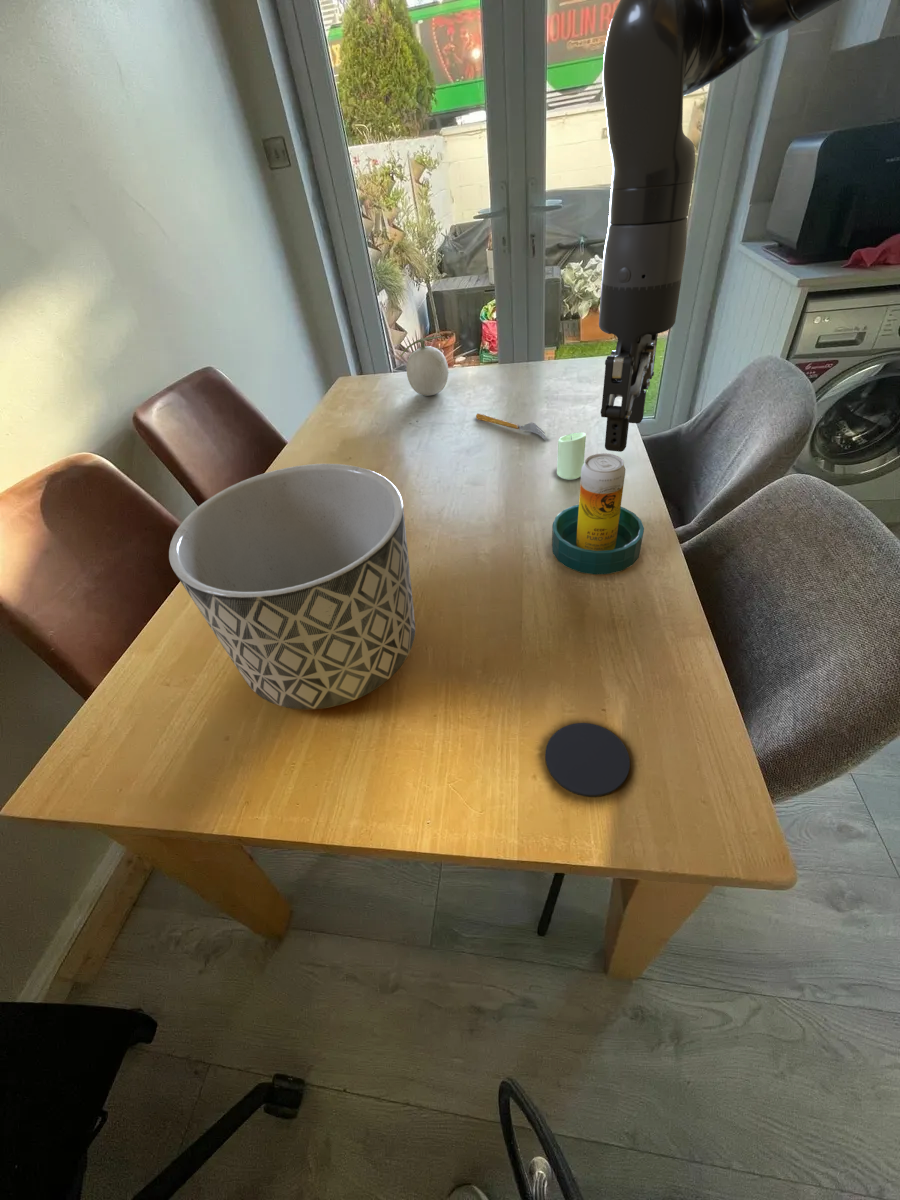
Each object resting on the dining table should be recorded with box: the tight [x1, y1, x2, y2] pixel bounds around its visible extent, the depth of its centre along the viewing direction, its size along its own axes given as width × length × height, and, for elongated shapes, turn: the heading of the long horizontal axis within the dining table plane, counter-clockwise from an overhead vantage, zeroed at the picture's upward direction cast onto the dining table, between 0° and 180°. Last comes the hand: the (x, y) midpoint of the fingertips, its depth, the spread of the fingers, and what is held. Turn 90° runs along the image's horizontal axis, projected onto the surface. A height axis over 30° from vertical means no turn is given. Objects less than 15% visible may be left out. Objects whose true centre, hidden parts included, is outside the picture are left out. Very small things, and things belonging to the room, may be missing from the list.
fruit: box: [400, 335, 449, 397], centre depth 138 cm, size 10×12×15 cm
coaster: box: [544, 722, 631, 798], centre depth 60 cm, size 9×9×1 cm
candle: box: [556, 432, 587, 481], centre depth 104 cm, size 5×5×8 cm
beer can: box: [576, 452, 626, 551], centre depth 83 cm, size 6×6×15 cm
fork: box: [475, 412, 547, 441], centre depth 123 cm, size 2×2×20 cm
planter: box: [168, 463, 416, 711], centre depth 69 cm, size 26×26×22 cm
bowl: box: [551, 504, 645, 576], centre depth 87 cm, size 14×14×4 cm
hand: (624, 435), depth 64 cm, fingers open, 8 cm apart
